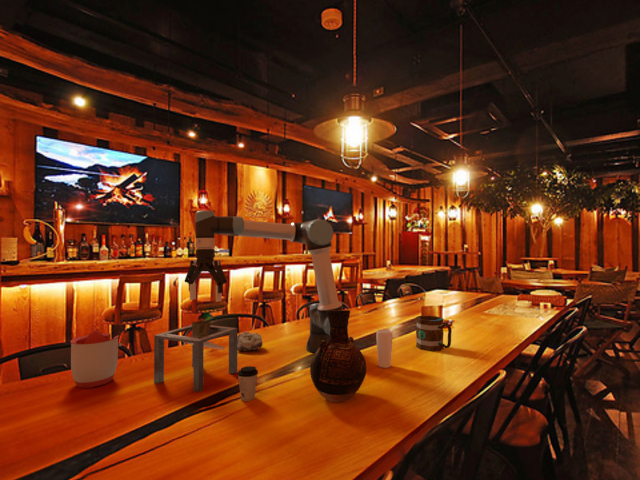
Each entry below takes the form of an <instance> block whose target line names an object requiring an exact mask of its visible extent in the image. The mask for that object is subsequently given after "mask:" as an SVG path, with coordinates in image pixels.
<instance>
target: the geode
mask: <svg viewBox="0 0 640 480" xmlns="http://www.w3.org/2000/svg"><path fill="white" fill-rule="evenodd" d="M262 347H263V337H262V335H261V334H259V333H258V332H253V333H250V332H249V331H243V332H242V333H239V334H237V350H238V351H244V352H247V351H251V350H253V351H256V350H257V349H260V348H262Z"/></svg>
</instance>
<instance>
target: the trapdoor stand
mask: <svg viewBox="0 0 640 480" xmlns="http://www.w3.org/2000/svg"><path fill="white" fill-rule="evenodd" d="M189 330H190V331H191V330H192V324H190V325H188V326H187V325H186V326H183V327H180V328H176V329H172V330H169V331H165V332H162V333H157V334H154V337H153V339H154V341H153V342H154V343H153V345H154V346H153V348H154V349H153V351H154V352H153V353H154V354H153V358H154V359H153V362H154V363H153V383H154V384H158V385H159V384H162V383H164V382H165V370H164V369H165V341H166V340H168V341H174V342H181V343H182V342H183V343H185V342H187V343H186V344H188V343H194V345H192V346H191V347H192V349H191V350H192V354H191V355H192V357H191V358H192V359H191V360H192V361H191V363H192V365H191V366H192V367H193V370H192V371H193V376H192V377H193V378H192V379H193V382H192V383H193V392H196V393H200V392H202V391H204V347H203V345H204V342H206V341H208V342H210V341H212V340H215V339H218V338H220V337H223V336H227V335H228V374H231V375H232V374H233V375H234V374H237V373H238V349H237V336H238V328H237V327H231V326H221V325H213V324H212V325H211V324H210V330H214V331H218V332H215V333H212V334H208V335H207V336H206V337H203V338H200V339H193V338H186V337H178V336H171V335H177V334H179V333H182V332H183V333H184V332H187V331H189ZM191 333H192V336H191V337H194V338H196V337H195V336H194V335H193V330H192V331H191ZM167 334H171V335H167Z"/></svg>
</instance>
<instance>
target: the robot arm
mask: <svg viewBox="0 0 640 480" xmlns="http://www.w3.org/2000/svg"><path fill="white" fill-rule="evenodd" d="M194 226H195V227H194V229H195V235H194V236H195V248H196V249H195V254H194V255H195V258H196V259H195V260H193V259H192V260H190V262H189V263H190V264H189V268H188V270H187V272H186V276H185V277H184V278H185V279H184V283H187V284H188V292H189V301H194V300H197V283H196V280H197V279H198V277H200V275H201V273H202V272H207V273H209V274H210V275H211V277H212V280H214V281H215V283H216V284H215V303H218V302H222V301H223V300H222V299H223V298H222V297H223V296H222V295H223V294H222V293H223V292H224V285H225V284H227V283H228V280H227V277H226V275H225V273H224V272H225V271H224V270H223V267H222V265H221V264H222V263H221V260H214V259H215V255H216V254H215V253H216V251H215V245H216V243H215V242H216V240H215V237H216V236H215V235H222V236H224V237H225V236H233V237H248V238H263V239H274V240H288V241H289V242H291V243H298V244H303V245H305V246H306V250H307V252H308V253H309V254H310V256H311V260H312V265H313V266H312V267H313V272H314V278H315V284H316V289H317V294H318V300H319V303H312V304H310V306H309V336H308V339H307V342H306V349H305V350H306V351H307V352H309V353H314V354H315V353H316V351H317V350H318V349H319V348H320V344H321V342H322V340H325V341H327V340H328V339H329V338H330V323H329V319H328V316H327V311H329V310H332V311H333V310H341V311H342V310H344V309H343V304H342V302H340V301H339V299H338V293H337V288H336V282H335V275H334V271H333V264H332V259H331V258H332V257H331V253H330V250H331V249H332V239H333V237H334V229H333V227H332V225H331V224H330V223H329V222H328V221H327V220H325V219H312V220H308V221H303V222H291V223H279V222H267V221H266V222H265V221H256V220H246V219H245V220H244V217H243V216H236V215H234V216H229V215H228V216H218V215H216V214H215V212H214V211H213V210H198V211H196V212H195V217H194ZM348 324H350V323H349V321H348ZM348 327H349V325H348V326H347V328H348Z"/></svg>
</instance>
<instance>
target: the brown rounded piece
mask: <svg viewBox="0 0 640 480" xmlns="http://www.w3.org/2000/svg"><path fill="white" fill-rule="evenodd" d="M211 323H212V321H211V320H210V321H208V320H207V322H205V320H199V321H198V320H197V321H195V320H194V321H192V322H191V325H192V329H191V330H193V335H194V336H195V337H196V338H199V339H200V338H203V337H206V336H209V335H210V331H211V329H210V325H211Z"/></svg>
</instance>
